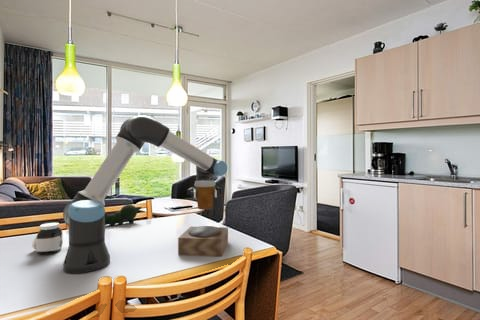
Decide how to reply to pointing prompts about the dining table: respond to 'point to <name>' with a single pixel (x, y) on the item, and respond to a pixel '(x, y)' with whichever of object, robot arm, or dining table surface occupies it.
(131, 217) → the dark green lumpy figure
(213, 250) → the block
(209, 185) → the disposable coffee cup
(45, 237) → the spread jar
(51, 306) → the dining table surface
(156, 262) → the dining table surface
